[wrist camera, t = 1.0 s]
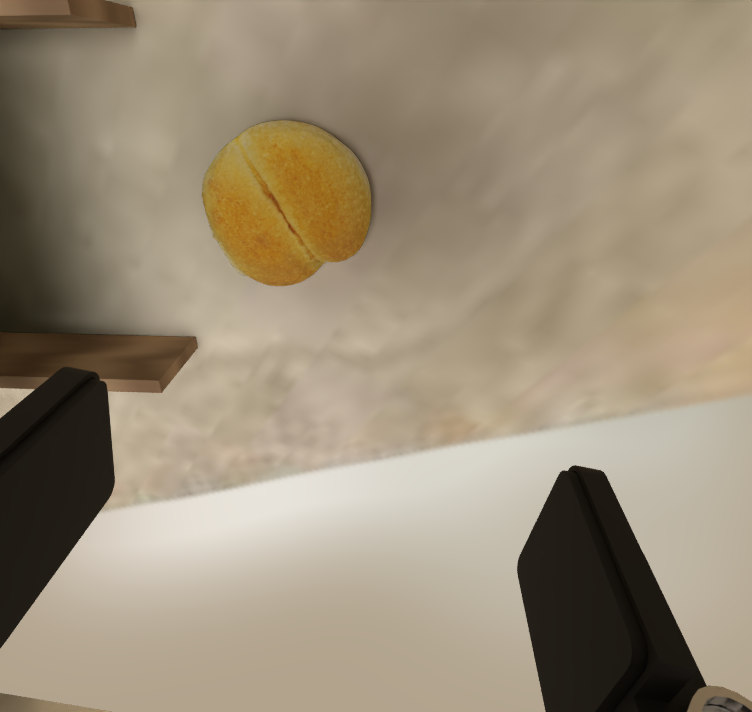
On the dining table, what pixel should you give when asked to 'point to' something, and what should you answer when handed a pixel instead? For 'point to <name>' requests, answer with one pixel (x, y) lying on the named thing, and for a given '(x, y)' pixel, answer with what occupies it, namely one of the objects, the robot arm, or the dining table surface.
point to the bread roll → (286, 201)
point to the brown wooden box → (85, 351)
